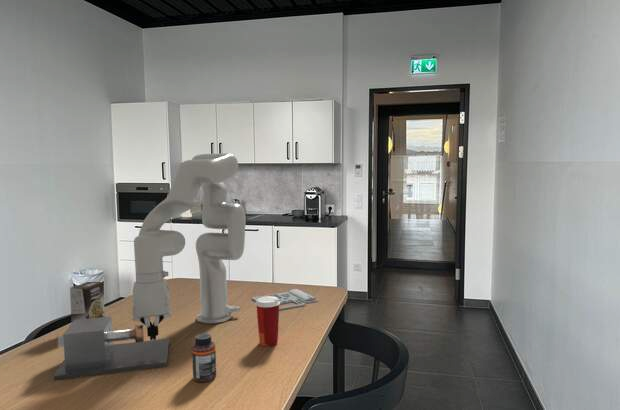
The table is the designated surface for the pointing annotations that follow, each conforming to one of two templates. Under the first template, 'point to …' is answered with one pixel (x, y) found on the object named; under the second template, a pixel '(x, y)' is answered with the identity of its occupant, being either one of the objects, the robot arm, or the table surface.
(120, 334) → the shaft
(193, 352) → the supplement bottle
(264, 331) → the paper cup
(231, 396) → the table surface
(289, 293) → the office telephone
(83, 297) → the coffee box
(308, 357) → the table surface
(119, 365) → the grey fixture block
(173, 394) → the table surface
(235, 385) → the table surface
